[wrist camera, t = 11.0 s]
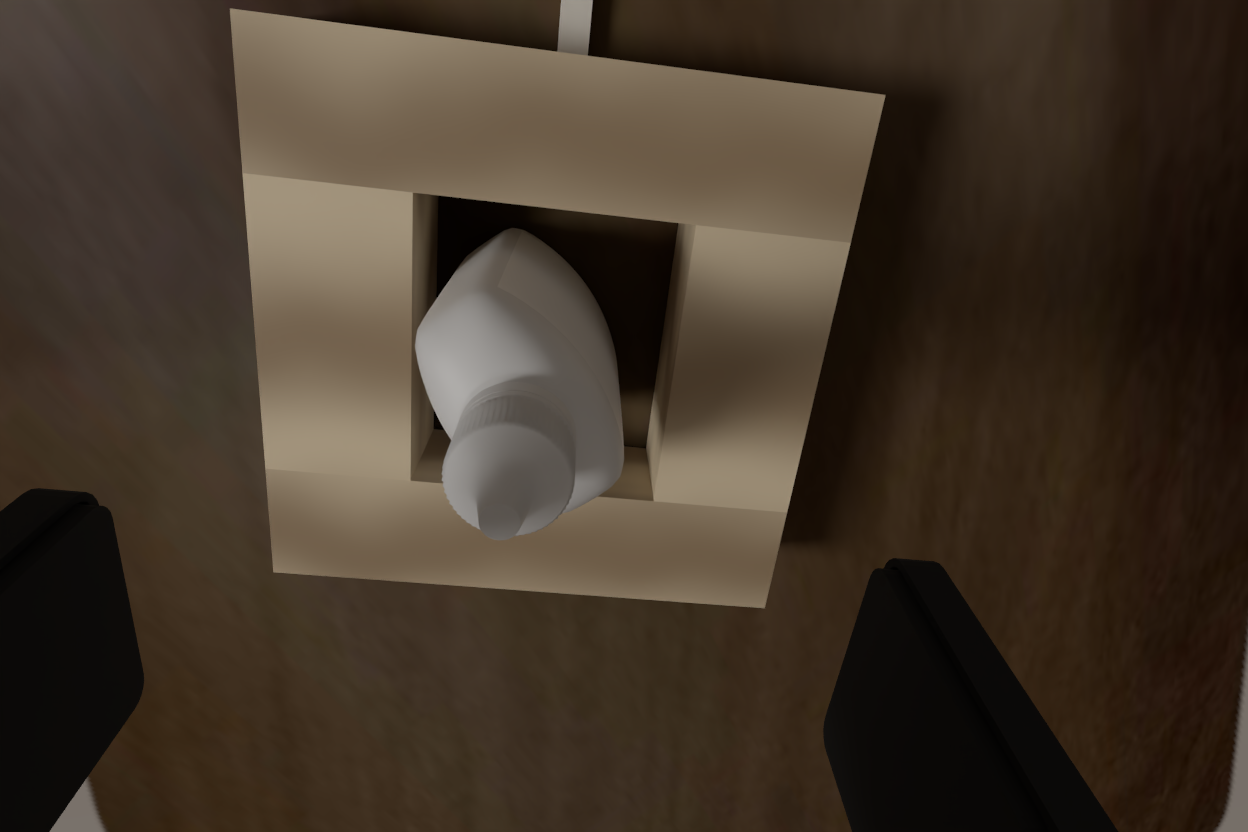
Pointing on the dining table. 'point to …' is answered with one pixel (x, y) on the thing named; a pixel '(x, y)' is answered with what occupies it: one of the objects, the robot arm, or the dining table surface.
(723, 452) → the rectangular frame
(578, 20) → the white rectangular bar
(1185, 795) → the dining table surface
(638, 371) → the dining table surface
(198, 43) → the dining table surface
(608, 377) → the eye dropper bottle
